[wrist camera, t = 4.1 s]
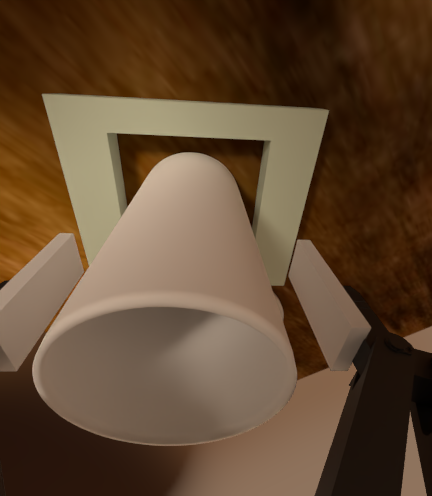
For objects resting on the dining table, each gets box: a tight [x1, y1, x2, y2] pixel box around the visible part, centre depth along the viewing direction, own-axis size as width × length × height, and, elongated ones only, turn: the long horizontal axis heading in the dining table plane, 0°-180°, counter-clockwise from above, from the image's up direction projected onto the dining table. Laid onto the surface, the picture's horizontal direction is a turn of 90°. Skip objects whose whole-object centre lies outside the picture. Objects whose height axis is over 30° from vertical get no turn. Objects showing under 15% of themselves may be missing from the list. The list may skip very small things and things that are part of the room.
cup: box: [32, 152, 297, 446], centre depth 15 cm, size 8×8×16 cm
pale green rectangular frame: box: [42, 93, 329, 286], centre depth 21 cm, size 18×15×2 cm
